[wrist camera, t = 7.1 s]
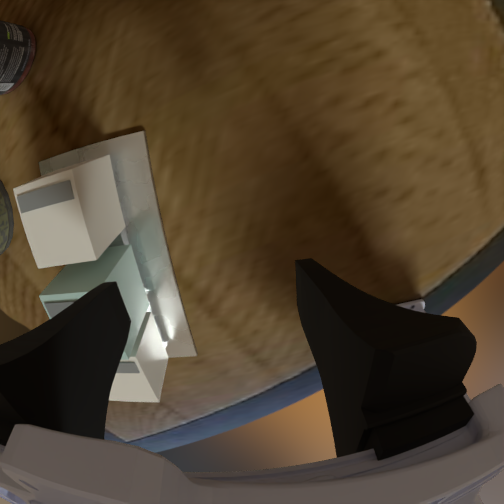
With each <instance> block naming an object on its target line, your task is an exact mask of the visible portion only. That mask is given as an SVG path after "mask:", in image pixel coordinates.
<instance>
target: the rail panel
mask: <svg viewBox="0 0 504 504" xmlns="http://www.w3.org/2000/svg"><path fill="white" fill-rule="evenodd" d="M106 155H110V160H111V165H112V170H113V175H114V180H115V184H116V189H117V193H118V198H119V202H120V206H121V210H122V214H123V218H124V222H125V226H126V227H125V228H124V229H123V230H122V231H121V233H120V234H119V235H118V236H117V237H116V238H115V239H114V240H113V242H112V243H111V244H110V245H109V246H108V247H115V246H121V245H128V244H131V246H132V249H133V253H134V257H135V260H136V263H137V267H138V270H139V273H140V277H141V280H142V283H143V286H144V289H145V292H146V296H147V299H148V302H149V306H148V309H147V311H146V312H152V315H153V317H154V320H155V323H156V326H157V329H158V331H159V334H160V337H161V339H162V342H163V344H164V347H165V350H166V352H167V355H168V357H188V356H197V350H196V347H195V343H194V340H193V337H192V334H191V330H190V327H189V323H188V320H187V317H186V313H185V310H184V306H183V303H182V299H181V295H180V292H179V288H178V284H177V280H176V277H175V273H174V269H173V265H172V261H171V257H170V253H169V248H168V244H167V240H166V236H165V231H164V227H163V222H162V218H161V213H160V209H159V204H158V199H157V194H156V189H155V184H154V179H153V173H152V168H151V162H150V157H149V151H148V145H147V139H146V132H145V131H141V132H137V133H132V134H128V135H124V136H120V137H117V138H113V139H109V140H105V141H102V142H98V143H95V144H91V145H88V146H85V147H82V148H78V149H75V150H72V151H69V152H66V153H63V154H60V155H57V156H54V157H52V158H49V159H46V160H43V161H41V162H39V167H40V172H41V176H43V175H45V174H48V173H50V172H53V171H55V170H58V169H61V168H64V167H68V166H71V165H74V164H78V163H81V162H84V161H88V160H91V159H95V158H99V157H102V156H106ZM108 247H107V248H108Z"/></svg>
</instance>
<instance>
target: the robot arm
mask: <svg viewBox="0 0 504 504" xmlns="http://www.w3.org/2000/svg"><path fill="white" fill-rule="evenodd" d="M295 266H296V289H297V306H298V311H299V315H300V320H301V324H302V327H303V330H304V333H305V335H306V338H307V341H308V343H309V346H310V349H311V351H312V354H313V356H314V359H315V362H316V365H317V367H318V370H319V373H320V377H321V380H322V385H323V389H324V393H325V397H326V402H327V407H328V411H329V416H330V421H331V426H332V432H333V437H334V442H335V449H336V455H337V458H333V459H329V460H324V461H319V462H314V463H308V464H302V465H296V466H288V467H281V468H273V469H263V470H253V471H237V472H182V471H181V470H180V469H179V468H178V467H177V466H175V465H174V464H173V463H171V462H170V461H169V460H167V459H166V458H164V457H163V456H162V455H159V454H156V453H153V452H151V451H148V450H146V449H143V448H141V447H138V446H134V445H129V444H124V443H120V442H116V441H110V440H104V432H105V422H106V414H107V407H108V402H109V396H110V391H111V387H112V384H113V381H114V378H115V375H116V372H117V369H118V366H119V363H120V360H121V358H122V355H123V352H124V349H125V346H126V343H127V340H128V335H129V331H130V325H131V319H130V317H129V314H128V312H127V309H126V306H125V304H124V301H123V298H122V296H121V293H120V290H119V288H118V285H117V282H116V281H114V282H104V283H102V284H100V285H98V286H97V287H95V288H93V289H92V290H90V291H89V292H88V293H86V294H85V295H83V296H82V297H81V298H79V299H78V300H76V301H75V302H74V303H72V304H71V305H70V306H68V307H67V308H65V309H64V310H62V311H61V312H60V313H58V314H57V315H55V316H54V317H52V318H51V319H49V320H48V321H46V322H45V323H43V324H42V325H40V326H38V327H36V328H35V329H33V330H31V331H29V332H27V333H25V334H23V335H21V336H19V337H17V338H15V339H13V340H11V341H8V342H6V343H3V344H1V345H0V497H1V498H3V499H5V500H7V501H9V502H10V503H12V504H483V502H482V500H481V498H480V496H479V494H478V493H479V492H480V490H481V488H482V486H483V485H484V484H485V483H487V482H488V481H490V480H491V479H492V478H494V477H496V476H497V475H498V474H499V473H500V472H502V471H503V470H504V387H503V386H502V385H501V384H498V385H496V386H494V387H493V388H491V389H489V390H487V391H485V392H483V393H481V394H479V395H478V396H476V397H474V398H473V399H472V400H470V398H469V397H468V395H467V394H466V392H467V390H466V388H465V386H464V385H463V383H462V381H463V379H464V376H465V375H466V373H467V371H468V369H469V367H470V365H471V363H472V361H473V358H474V355H475V353H476V343H477V342H476V339H475V337H474V335H473V334H472V333H471V332H470V330H469V329H468V328H467V327H466V326H465V325H464V323H463V322H462V321H461V320H460V319H459V318H456V317H448V316H441V315H433V314H428V313H426V312H425V311H424V306H425V302H424V301H423V300H422V299H420V300H415V301H411V302H406V303H402V304H397V305H394V304H391V303H388V302H386V301H383V300H381V299H378V298H376V297H374V296H372V295H369V294H367V293H365V292H363V291H361V290H359V289H357V288H356V287H354V286H352V285H350V284H349V283H347V282H345V281H344V280H342V279H340V278H339V277H337V276H336V275H334V274H333V273H331V272H330V271H329V270H327V269H326V268H324V267H323V266H321V265H320V264H319V263H317V262H316V261H314V260H313V259H311V258H310V259H302V260H295ZM411 306H412V307H411Z"/></svg>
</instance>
